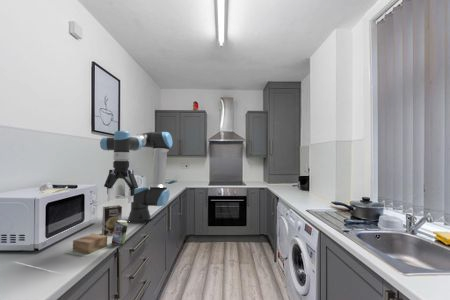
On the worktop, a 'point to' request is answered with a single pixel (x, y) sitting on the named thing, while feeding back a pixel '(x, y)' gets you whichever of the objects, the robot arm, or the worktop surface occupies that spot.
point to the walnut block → (89, 243)
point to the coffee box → (110, 219)
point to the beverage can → (119, 232)
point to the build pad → (88, 254)
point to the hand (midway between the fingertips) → (120, 201)
